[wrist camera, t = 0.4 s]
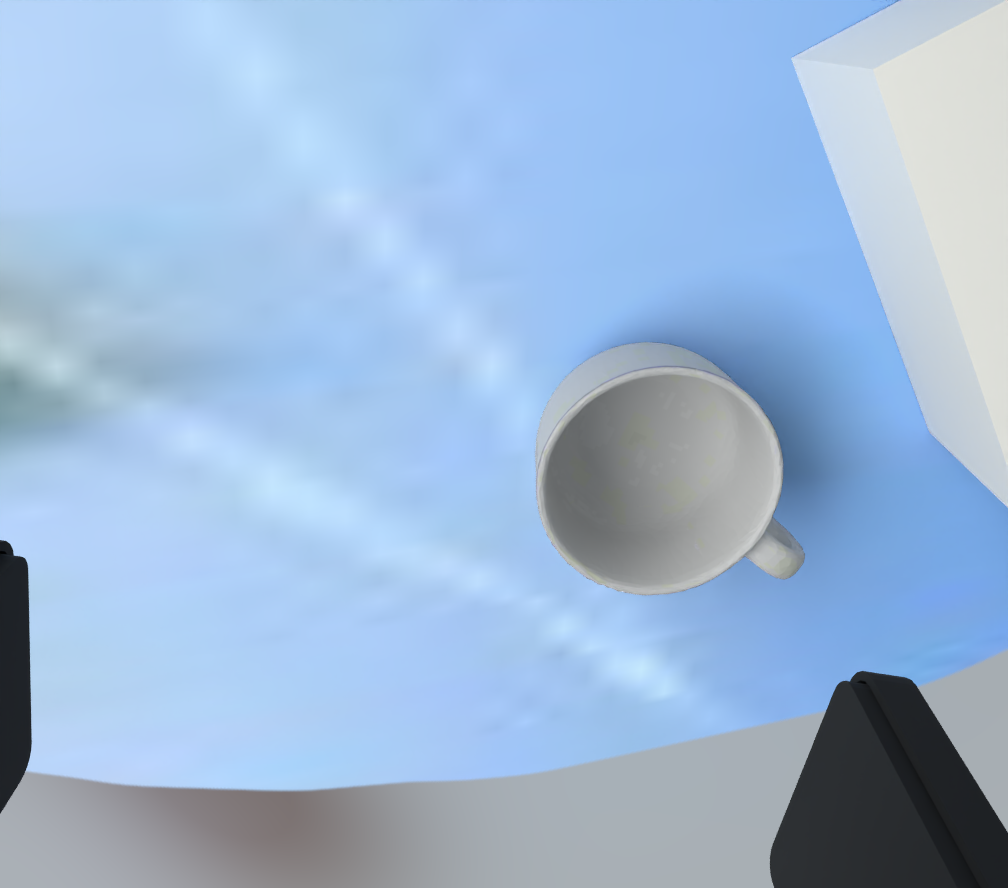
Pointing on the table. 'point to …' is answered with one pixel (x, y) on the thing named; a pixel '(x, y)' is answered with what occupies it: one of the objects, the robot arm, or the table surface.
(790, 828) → the robot arm
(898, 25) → the cabinet
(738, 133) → the table surface
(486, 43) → the table surface
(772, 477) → the teacup
